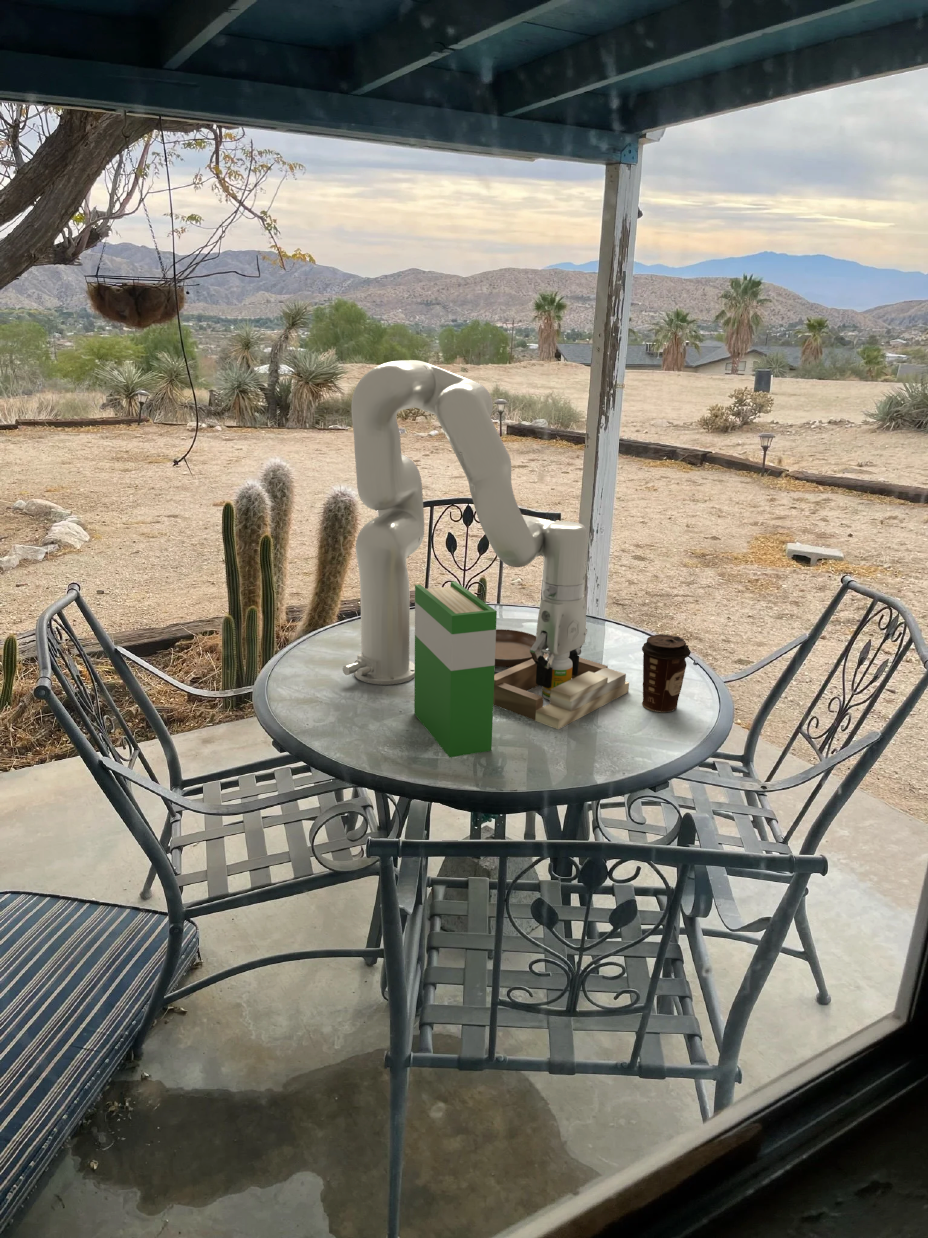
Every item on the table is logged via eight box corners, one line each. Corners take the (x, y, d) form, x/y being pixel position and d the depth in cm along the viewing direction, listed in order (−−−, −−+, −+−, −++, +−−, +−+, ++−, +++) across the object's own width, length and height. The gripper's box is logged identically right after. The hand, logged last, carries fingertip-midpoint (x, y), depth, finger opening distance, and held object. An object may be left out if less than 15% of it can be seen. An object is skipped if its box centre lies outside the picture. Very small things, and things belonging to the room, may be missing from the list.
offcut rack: (558, 729, 147) (560, 702, 145) (486, 702, 157) (487, 676, 156) (628, 692, 163) (630, 667, 162) (559, 669, 174) (560, 645, 172)
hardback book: (414, 713, 152) (415, 584, 144) (452, 708, 155) (455, 581, 147) (449, 757, 136) (452, 615, 129) (491, 750, 139) (496, 611, 132)
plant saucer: (548, 672, 173) (549, 658, 172) (461, 670, 173) (461, 656, 172) (542, 643, 190) (542, 630, 189) (462, 641, 190) (463, 628, 189)
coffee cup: (686, 701, 160) (693, 636, 156) (682, 718, 153) (690, 651, 148) (639, 694, 163) (646, 630, 159) (633, 711, 155) (639, 644, 151)
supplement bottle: (551, 704, 157) (554, 655, 154) (536, 693, 162) (539, 645, 159) (575, 699, 160) (579, 650, 157) (560, 688, 164) (563, 641, 161)
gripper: (551, 604, 146) (545, 698, 151) (606, 585, 158) (599, 672, 164) (516, 595, 150) (512, 687, 156) (573, 577, 163) (567, 662, 168)
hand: (557, 679), depth 160 cm, fingers open, 7 cm apart
